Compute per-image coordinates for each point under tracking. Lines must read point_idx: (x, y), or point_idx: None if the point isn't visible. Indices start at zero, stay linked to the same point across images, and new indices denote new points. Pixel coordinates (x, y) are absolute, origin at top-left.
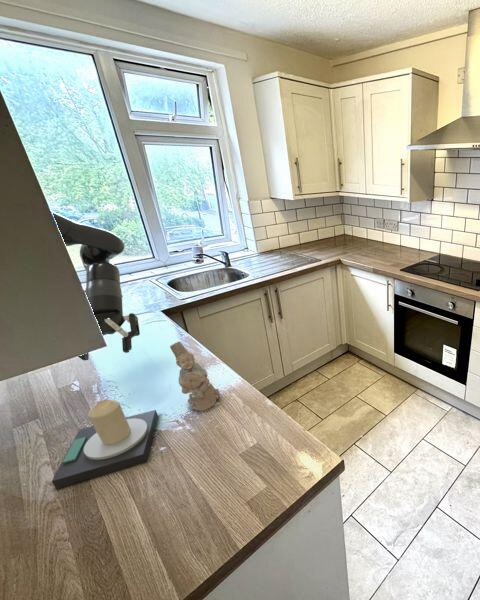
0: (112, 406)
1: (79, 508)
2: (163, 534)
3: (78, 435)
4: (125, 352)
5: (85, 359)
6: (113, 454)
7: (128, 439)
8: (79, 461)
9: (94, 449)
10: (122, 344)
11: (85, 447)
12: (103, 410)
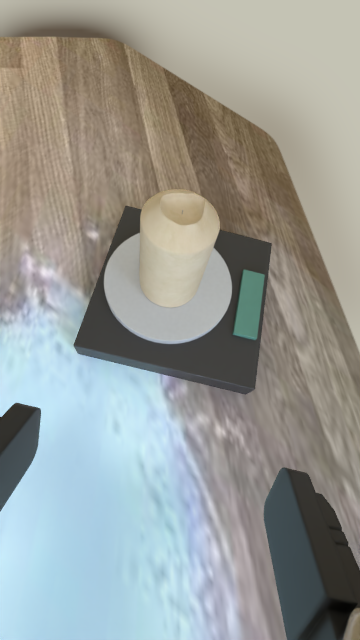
0: (156, 195)
1: (222, 194)
2: (124, 95)
3: (252, 360)
4: (34, 433)
5: (277, 484)
6: None
7: None
8: (235, 263)
9: (210, 267)
10: (7, 447)
11: (228, 287)
12: (179, 191)
